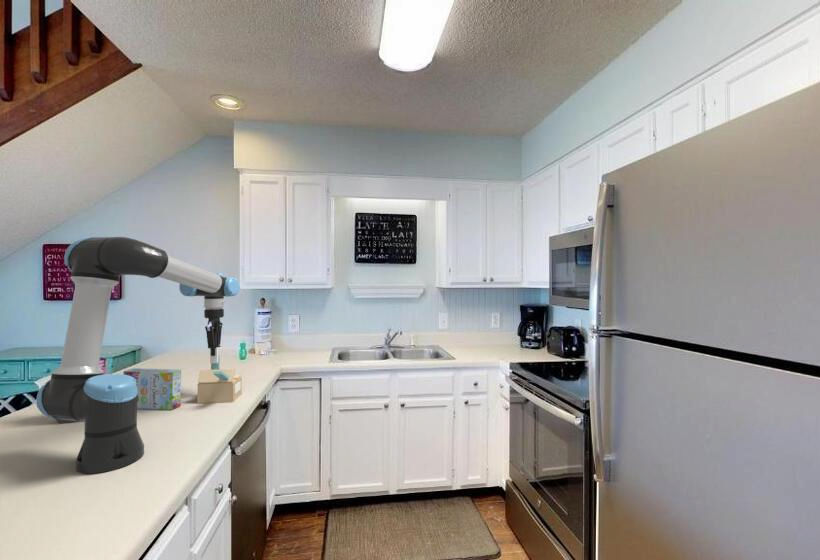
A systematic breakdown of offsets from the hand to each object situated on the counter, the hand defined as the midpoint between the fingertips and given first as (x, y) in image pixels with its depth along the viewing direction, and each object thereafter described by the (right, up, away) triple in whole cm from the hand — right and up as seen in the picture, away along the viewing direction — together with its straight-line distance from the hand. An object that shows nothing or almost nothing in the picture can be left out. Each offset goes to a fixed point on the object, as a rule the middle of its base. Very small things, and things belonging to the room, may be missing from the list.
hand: (214, 362), depth 164 cm
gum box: (-56, -15, +5) cm, 58 cm away
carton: (+4, -15, -2) cm, 16 cm away
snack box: (-18, -15, -13) cm, 27 cm away
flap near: (+4, -4, -6) cm, 8 cm away
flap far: (+3, -7, +1) cm, 8 cm away
